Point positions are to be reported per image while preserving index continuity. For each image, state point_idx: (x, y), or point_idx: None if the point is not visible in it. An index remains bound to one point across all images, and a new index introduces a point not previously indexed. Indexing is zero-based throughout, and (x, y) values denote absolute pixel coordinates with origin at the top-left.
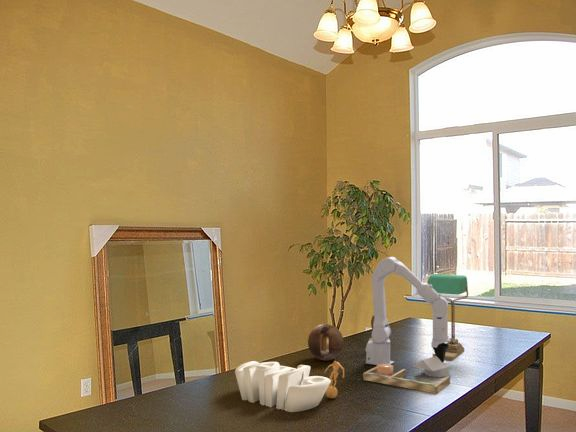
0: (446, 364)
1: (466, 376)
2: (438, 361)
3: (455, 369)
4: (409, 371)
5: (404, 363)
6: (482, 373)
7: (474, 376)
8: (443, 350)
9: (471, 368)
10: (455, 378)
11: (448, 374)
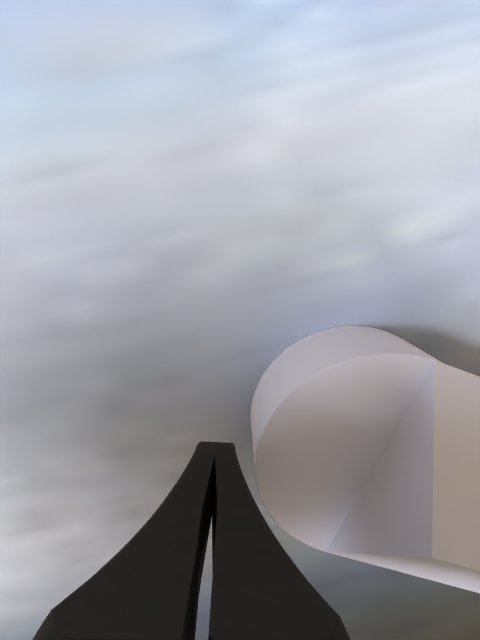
0: (312, 390)
1: (321, 169)
2: (473, 474)
3: (138, 318)
4: (374, 566)
5: (195, 637)
6: (121, 29)
7: (284, 90)
8: (306, 579)
9: (3, 191)
10: (430, 247)
11: (349, 327)
